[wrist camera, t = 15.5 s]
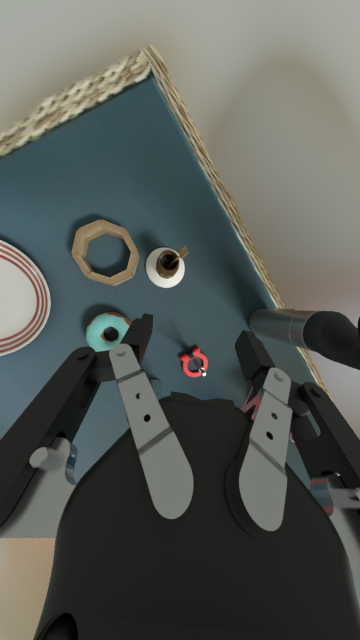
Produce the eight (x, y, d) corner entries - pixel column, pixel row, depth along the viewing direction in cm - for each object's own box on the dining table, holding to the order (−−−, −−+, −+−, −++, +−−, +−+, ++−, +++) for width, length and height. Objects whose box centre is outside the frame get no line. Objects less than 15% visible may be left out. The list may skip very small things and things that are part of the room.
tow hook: (210, 367, 46) (199, 344, 44) (232, 392, 34) (218, 362, 32) (188, 379, 45) (176, 357, 43) (203, 410, 33) (187, 380, 31)
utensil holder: (152, 260, 38) (152, 241, 26) (173, 255, 39) (182, 233, 27) (159, 281, 39) (162, 271, 27) (180, 275, 40) (191, 263, 28)
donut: (99, 304, 37) (93, 304, 33) (141, 321, 40) (140, 322, 36) (83, 344, 38) (75, 349, 34) (126, 358, 40) (123, 363, 36)
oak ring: (119, 219, 36) (116, 211, 33) (147, 269, 38) (146, 266, 35) (67, 242, 34) (59, 236, 31) (100, 293, 37) (95, 292, 34)
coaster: (173, 241, 39) (173, 240, 38) (190, 277, 41) (190, 276, 40) (138, 258, 38) (138, 258, 37) (158, 294, 40) (158, 294, 39)
